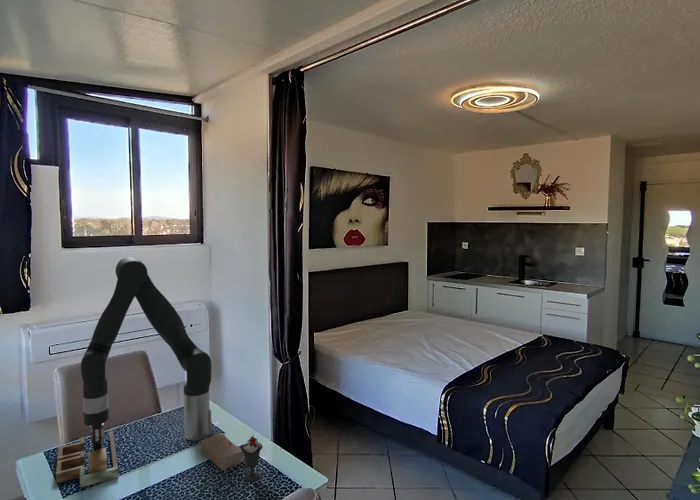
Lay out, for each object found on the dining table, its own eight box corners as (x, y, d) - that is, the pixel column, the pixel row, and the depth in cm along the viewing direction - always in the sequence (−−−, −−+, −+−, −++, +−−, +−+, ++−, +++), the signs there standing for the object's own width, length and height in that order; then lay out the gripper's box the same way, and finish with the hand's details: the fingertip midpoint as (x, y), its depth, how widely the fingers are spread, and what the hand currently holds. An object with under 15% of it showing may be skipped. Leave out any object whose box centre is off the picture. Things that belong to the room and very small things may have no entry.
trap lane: (113, 437, 162) (112, 430, 162) (118, 477, 138) (118, 468, 137) (59, 450, 153) (59, 442, 153) (55, 494, 129) (54, 485, 129)
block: (106, 464, 144) (105, 447, 144) (107, 476, 138) (106, 459, 137) (88, 469, 142) (88, 451, 141) (89, 481, 135) (88, 463, 135)
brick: (244, 462, 147) (244, 449, 147) (221, 472, 141) (221, 458, 141) (221, 443, 159) (221, 431, 159) (199, 452, 153) (199, 439, 153)
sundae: (252, 486, 134) (251, 440, 132) (237, 479, 137) (236, 434, 136) (267, 475, 139) (266, 431, 138) (252, 469, 143) (251, 425, 142)
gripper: (109, 413, 140) (111, 463, 142) (108, 398, 152) (109, 445, 153) (82, 418, 136) (84, 470, 138) (83, 402, 148) (85, 450, 149)
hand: (97, 456), depth 145 cm, fingers closed
